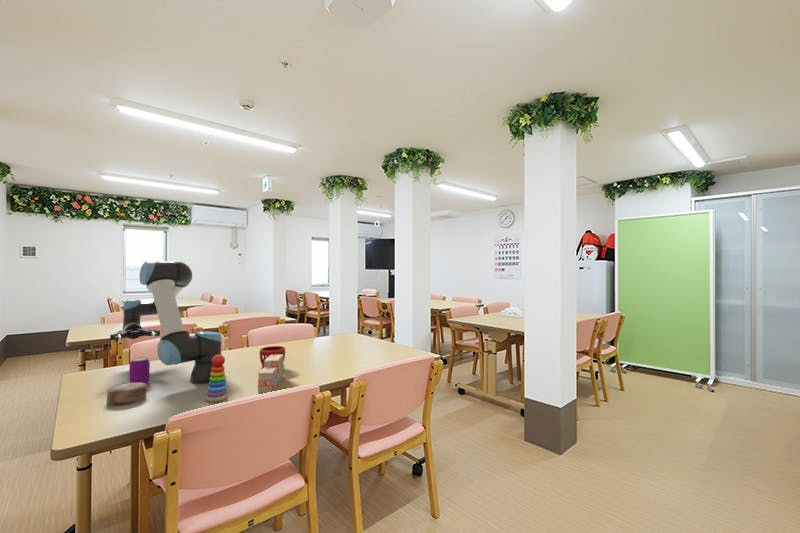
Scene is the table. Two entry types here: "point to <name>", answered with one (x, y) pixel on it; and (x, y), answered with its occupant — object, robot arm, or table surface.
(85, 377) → the table surface
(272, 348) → the plant pot
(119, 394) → the walnut pedestal
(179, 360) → the robot arm
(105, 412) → the table surface
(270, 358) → the stack of blocks
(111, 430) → the table surface
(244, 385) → the table surface
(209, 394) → the stacking toy
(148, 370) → the beverage can
